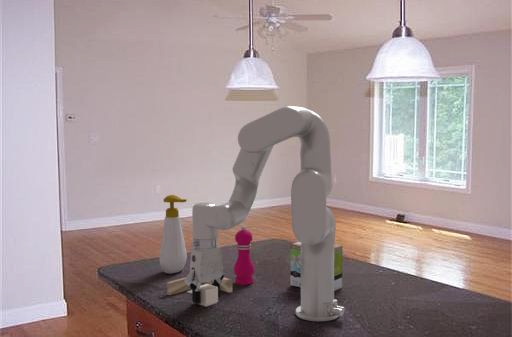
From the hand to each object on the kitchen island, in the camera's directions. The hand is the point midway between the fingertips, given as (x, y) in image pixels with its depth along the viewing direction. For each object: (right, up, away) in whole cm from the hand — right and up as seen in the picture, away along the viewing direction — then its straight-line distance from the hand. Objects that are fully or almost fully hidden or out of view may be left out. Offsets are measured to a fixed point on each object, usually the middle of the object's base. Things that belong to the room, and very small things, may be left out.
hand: (206, 299), depth 167 cm
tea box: (+36, 0, +15) cm, 39 cm away
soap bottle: (-15, +1, +36) cm, 39 cm away
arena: (-2, 0, +9) cm, 9 cm away
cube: (0, -1, 0) cm, 1 cm away
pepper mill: (+11, +1, +21) cm, 24 cm away
